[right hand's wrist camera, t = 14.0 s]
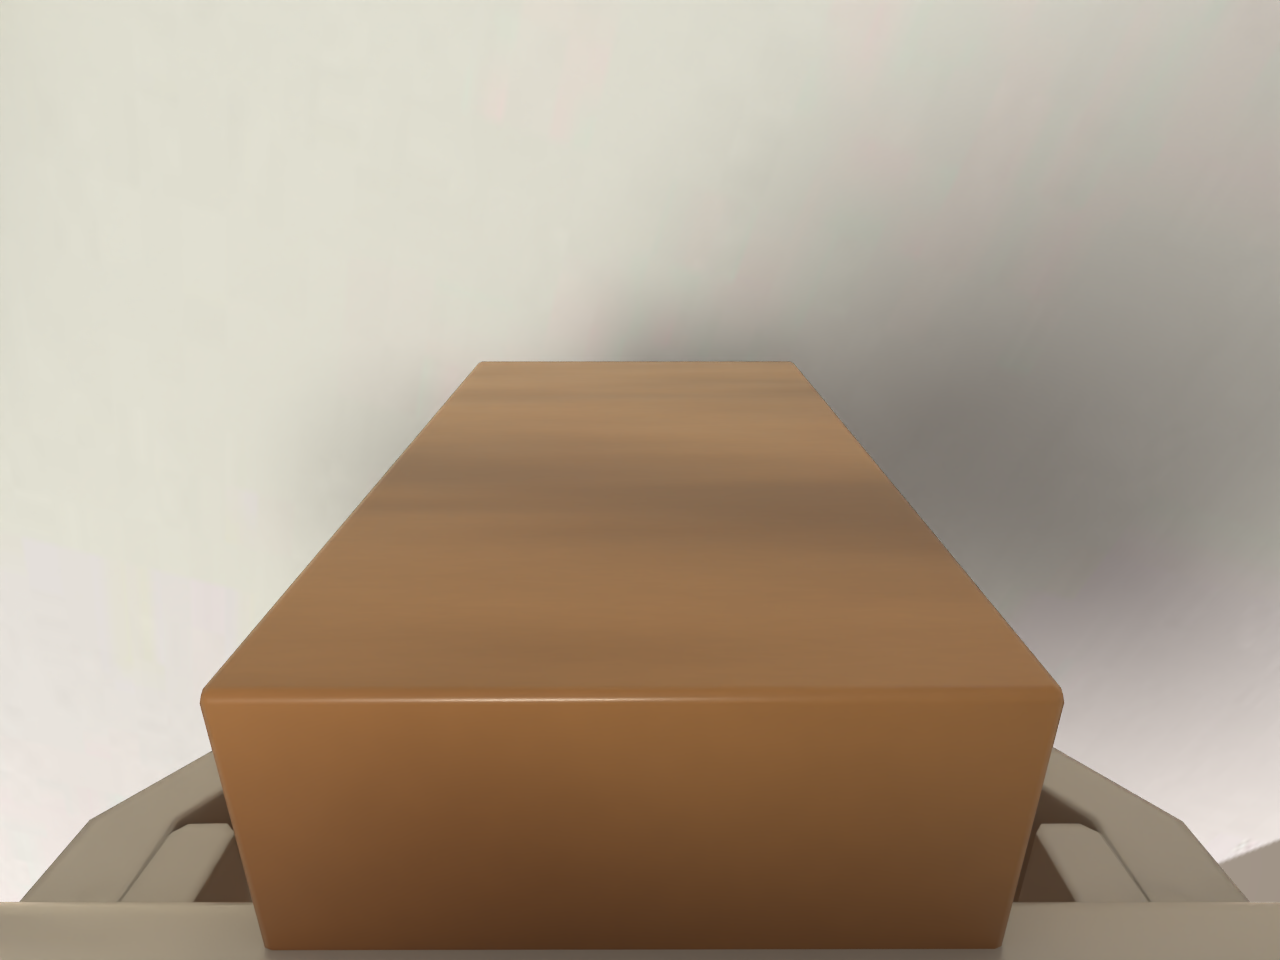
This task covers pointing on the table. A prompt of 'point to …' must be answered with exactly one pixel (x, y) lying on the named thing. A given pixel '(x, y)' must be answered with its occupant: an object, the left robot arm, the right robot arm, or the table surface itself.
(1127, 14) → the table surface
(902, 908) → the bar
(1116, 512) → the table surface
